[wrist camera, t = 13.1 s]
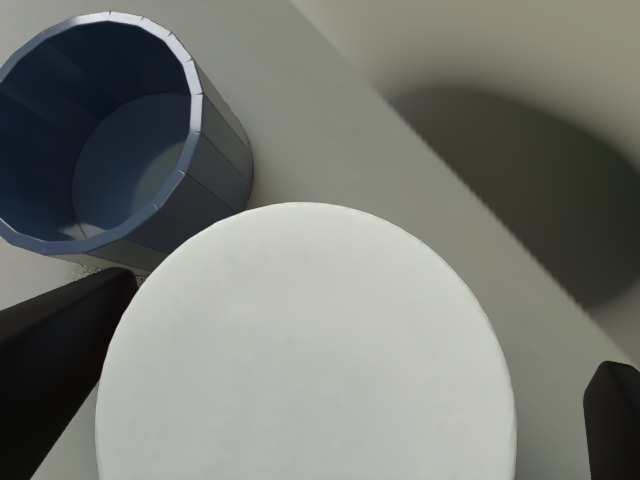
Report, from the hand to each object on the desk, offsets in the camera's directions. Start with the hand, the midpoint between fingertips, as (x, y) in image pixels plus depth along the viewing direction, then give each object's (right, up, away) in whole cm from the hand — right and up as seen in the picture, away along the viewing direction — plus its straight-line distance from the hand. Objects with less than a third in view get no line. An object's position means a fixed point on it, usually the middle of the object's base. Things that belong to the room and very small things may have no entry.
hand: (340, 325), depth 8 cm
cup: (-8, +4, +11) cm, 14 cm away
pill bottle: (+1, -3, +8) cm, 8 cm away
